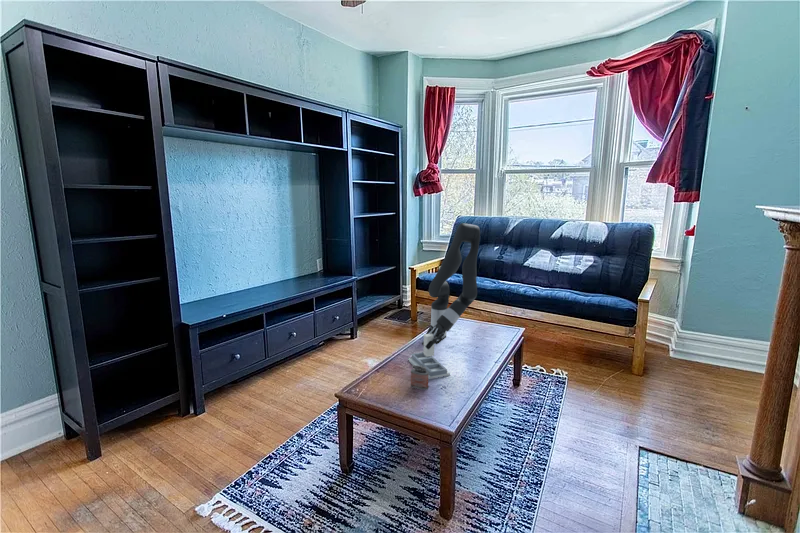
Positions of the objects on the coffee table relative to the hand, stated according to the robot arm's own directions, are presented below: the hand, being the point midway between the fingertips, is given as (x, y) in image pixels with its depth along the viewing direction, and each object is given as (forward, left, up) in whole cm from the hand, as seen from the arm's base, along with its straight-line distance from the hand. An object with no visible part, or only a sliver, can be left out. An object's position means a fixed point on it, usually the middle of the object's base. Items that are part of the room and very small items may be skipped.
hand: (425, 346), depth 186 cm
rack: (0, +2, -11) cm, 11 cm away
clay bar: (0, +2, -4) cm, 5 cm away
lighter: (+16, -10, -11) cm, 22 cm away
